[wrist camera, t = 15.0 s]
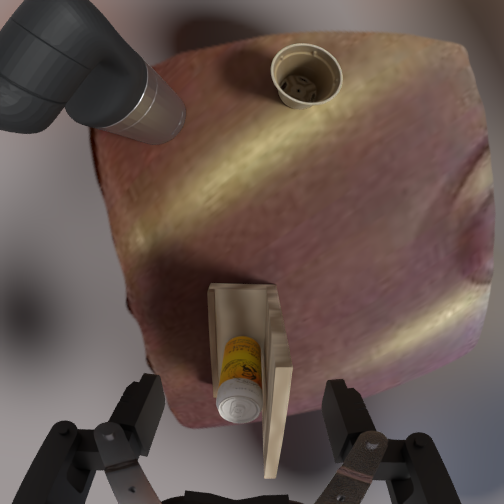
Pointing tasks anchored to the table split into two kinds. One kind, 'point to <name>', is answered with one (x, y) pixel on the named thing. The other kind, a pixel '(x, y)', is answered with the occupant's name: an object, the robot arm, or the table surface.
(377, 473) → the robot arm
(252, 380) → the beer can
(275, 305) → the wall board
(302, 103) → the flower pot
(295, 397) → the table surface
